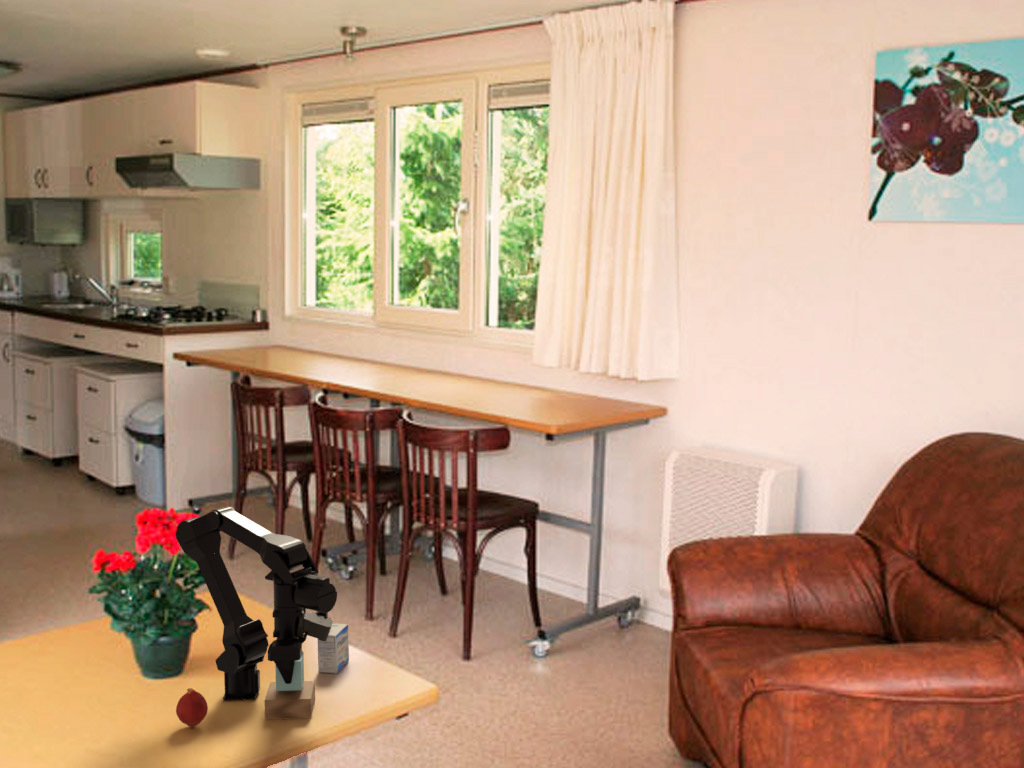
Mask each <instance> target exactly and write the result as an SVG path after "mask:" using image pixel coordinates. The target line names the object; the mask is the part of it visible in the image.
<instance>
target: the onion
mask: <svg viewBox="0 0 1024 768" xmlns="http://www.w3.org/2000/svg"><path fill="white" fill-rule="evenodd" d="M208 709H209V705H208V702H207V700H206V698H205V697H204V695H203V694H201V693H200V692H199V691H196V689H193V688H192V687H189V688H187V689H186V692H185V693H184V694H183V695H182V696H181V697H180V698H179V699H178V702H177V705H176V709H175V713H176V716H177V717H178V719H179V721H180V722H181V723H183V724H184V725H186V726H188V727H189V728H195V727H196V726H199V724H200V723H202V722H203V720H205V718H206V716H207V714H208Z"/></svg>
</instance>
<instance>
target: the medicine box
mask: <svg viewBox="0 0 1024 768" xmlns="http://www.w3.org/2000/svg"><path fill="white" fill-rule="evenodd" d="M349 641H350V639H349V625H348V624H345V623H334V622H333V623H332V626H331V629H330V632H329V635H328V637H327V640H326V641H321V640H319V639H318V638H317V663H318V664H317V666H318V667H317V668H318V673H322V674H323V673H324V674H334V675H335V674H337V675H338V673H339V672H340V671H341V670H342V669H343V668H344V666H345V665H346V664H347V663H348V662H349V660H350V649H349V648H350V646H349V644H350V643H349ZM341 668H342V669H341Z"/></svg>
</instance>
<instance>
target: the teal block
mask: <svg viewBox="0 0 1024 768" xmlns="http://www.w3.org/2000/svg"><path fill="white" fill-rule="evenodd" d="M304 655H305V654H304V652H302V655H301V659H300V660H297V661H295V664H294V670H293V676H292V682H291V684H286V683H285V681H284V679H283V677H282V676H281V674H280V672H279V670H278V668H277V666H276V664H275V663H274V664H275V682H276V691H293V690H302V686H303V682H304V681H305V662H304V661H305V660H304V659H305V658H304Z"/></svg>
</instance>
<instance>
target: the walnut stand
mask: <svg viewBox="0 0 1024 768" xmlns="http://www.w3.org/2000/svg"><path fill="white" fill-rule="evenodd" d="M315 702H316V681H315V680H304V682H303V686H302V690H293V691H276V681H270V682H269V685H268V688H267V691H266V695H265V697H264V719H265V720H287V719H289V720H291V719H293V720H294V719H297V720H298V719H312V715H313V710H314V707H315Z"/></svg>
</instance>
